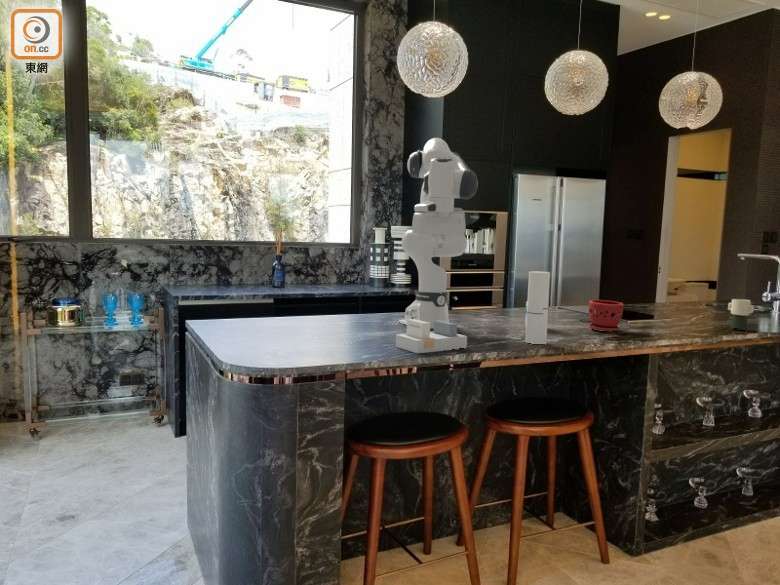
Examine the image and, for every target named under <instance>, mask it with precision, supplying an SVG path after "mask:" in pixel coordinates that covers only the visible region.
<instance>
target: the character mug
mask: <svg viewBox="0 0 780 585" xmlns="http://www.w3.org/2000/svg"><path fill="white" fill-rule="evenodd" d="M727 310H728V311H730V314H731V315H733V317H732V320H731V323H730V328H731V327H732V328H737V329H736V330H741V329H743V330H748V318H747V316H749V315H750V314H753V313H754V305H752V302H751V300H750V299H743V298H742V299H741V298H731V302H728V305H727ZM732 328H731V329H732Z"/></svg>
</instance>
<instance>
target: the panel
mask: <svg viewBox="0 0 780 585" xmlns="http://www.w3.org/2000/svg"><path fill="white" fill-rule="evenodd" d="M430 332H431V328H430V323H429V322H425V321H420V320H416V319H409V320H407V325H406V334H407V336H410V337H414V338H417V339H423V338H430Z"/></svg>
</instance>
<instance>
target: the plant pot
mask: <svg viewBox="0 0 780 585" xmlns="http://www.w3.org/2000/svg"><path fill="white" fill-rule="evenodd" d="M623 313H624V303H623V302H621V301H620V302H618V301H614V300H613V301H612V300H604V299H603V300H602V299H591V300H589V302H588V316H589V317H588V318H589V320H590V323H589V324H588V328H592V329H596V330H603V331H616V332H617V330H618V331H619V329H620V327H619V324H620V323H621V321H622V317H623ZM612 314H613V315H612ZM592 329H591V330H592Z"/></svg>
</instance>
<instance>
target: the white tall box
mask: <svg viewBox="0 0 780 585" xmlns="http://www.w3.org/2000/svg"><path fill="white" fill-rule="evenodd" d="M550 281H551V272H550V271H540V270H539V271H534V270H533V271H528V286H527V319H526V327H525V341H524V342H527V343H531V344H530V345H532V344H545V345H547V338H548V337H547V335H548V317H549V300H550ZM527 343H526V344H527Z"/></svg>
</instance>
